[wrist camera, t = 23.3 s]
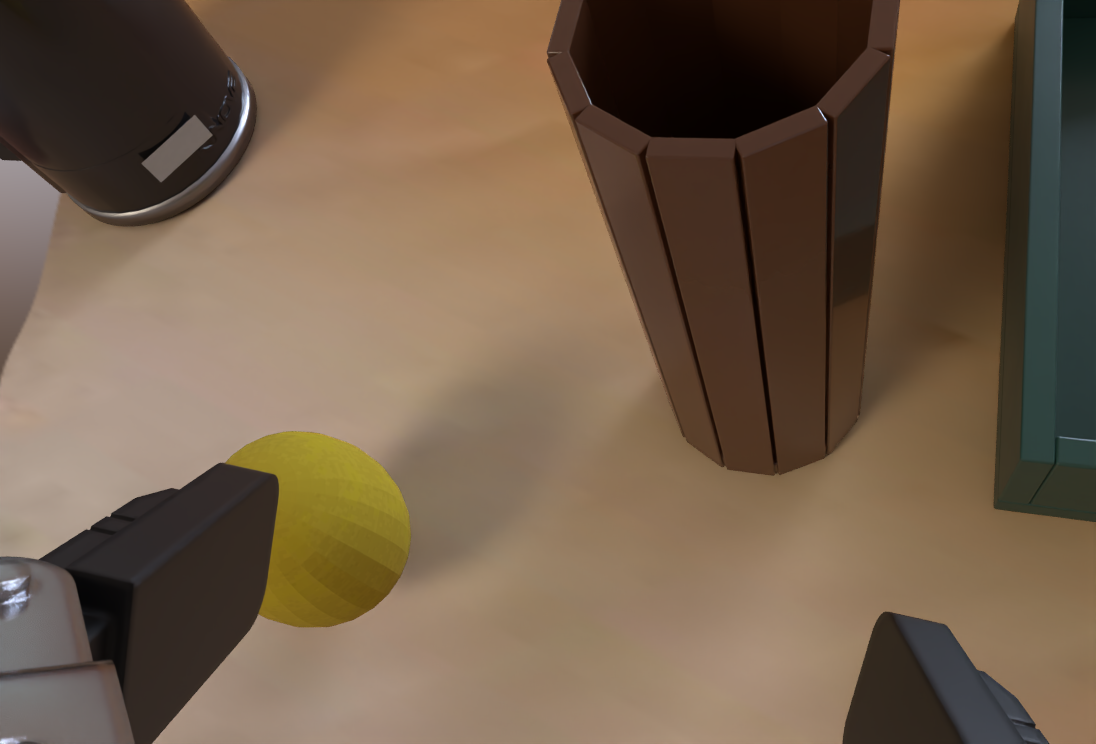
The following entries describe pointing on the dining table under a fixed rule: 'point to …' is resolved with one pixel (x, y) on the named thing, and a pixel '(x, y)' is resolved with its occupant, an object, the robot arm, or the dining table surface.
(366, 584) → the lemon
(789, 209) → the cup
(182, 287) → the dining table surface
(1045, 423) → the green tray
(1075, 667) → the dining table surface
